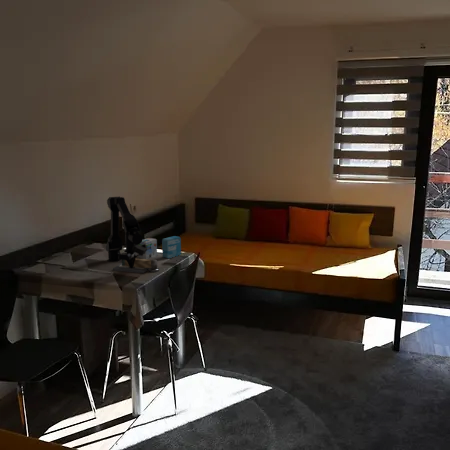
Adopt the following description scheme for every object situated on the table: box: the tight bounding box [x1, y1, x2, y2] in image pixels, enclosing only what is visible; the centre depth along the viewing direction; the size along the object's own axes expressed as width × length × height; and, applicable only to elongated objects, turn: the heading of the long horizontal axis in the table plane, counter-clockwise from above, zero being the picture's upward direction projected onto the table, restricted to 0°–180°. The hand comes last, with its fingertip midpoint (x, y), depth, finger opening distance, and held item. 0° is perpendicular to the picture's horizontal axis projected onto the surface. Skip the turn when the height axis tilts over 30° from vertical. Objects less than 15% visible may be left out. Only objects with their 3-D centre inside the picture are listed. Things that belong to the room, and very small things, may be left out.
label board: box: [112, 262, 149, 274], centre depth 275 cm, size 19×12×1 cm, turn 74°
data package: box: [161, 235, 182, 259], centre depth 300 cm, size 12×4×12 cm, turn 141°
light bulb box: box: [137, 237, 158, 260], centre depth 299 cm, size 11×7×11 cm, turn 148°
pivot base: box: [148, 267, 160, 273], centre depth 271 cm, size 6×6×1 cm
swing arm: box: [121, 257, 158, 269], centre depth 273 cm, size 21×4×5 cm, turn 74°
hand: (131, 268), depth 267 cm, fingers closed
